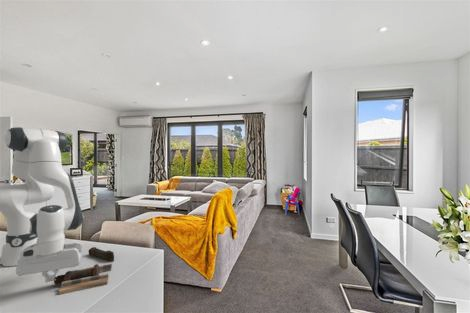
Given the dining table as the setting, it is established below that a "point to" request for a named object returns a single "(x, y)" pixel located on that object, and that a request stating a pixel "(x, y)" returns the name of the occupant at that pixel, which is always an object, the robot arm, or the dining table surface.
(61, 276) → the bolt
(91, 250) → the carved wooden phallus
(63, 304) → the dining table surface
